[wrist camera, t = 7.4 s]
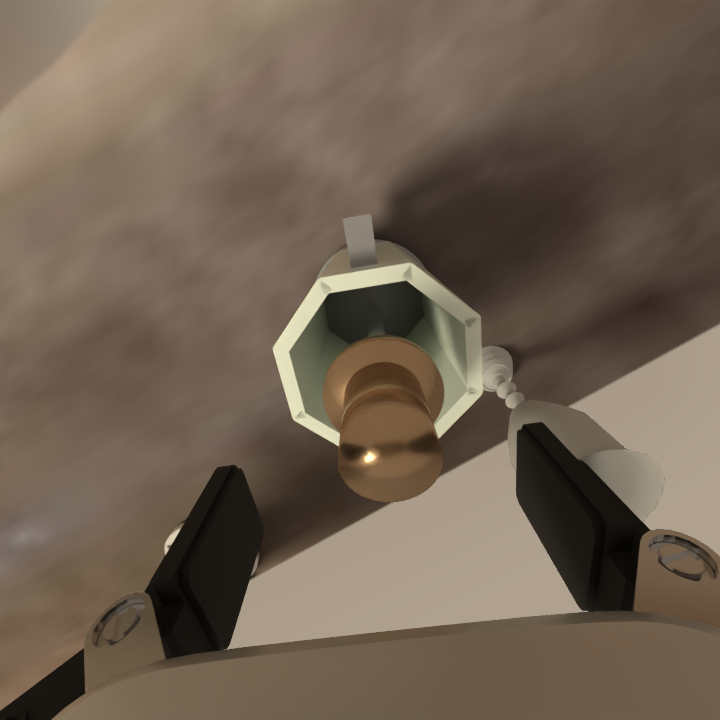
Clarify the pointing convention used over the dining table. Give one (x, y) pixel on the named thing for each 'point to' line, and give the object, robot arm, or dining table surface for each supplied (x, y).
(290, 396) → the press carafe
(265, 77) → the dining table surface
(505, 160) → the dining table surface
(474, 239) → the dining table surface
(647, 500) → the chalice
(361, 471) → the plunger
